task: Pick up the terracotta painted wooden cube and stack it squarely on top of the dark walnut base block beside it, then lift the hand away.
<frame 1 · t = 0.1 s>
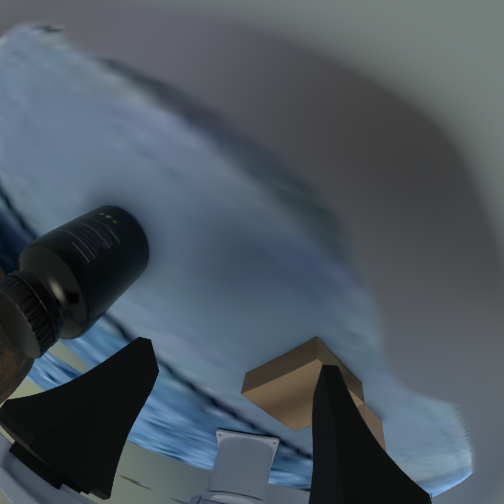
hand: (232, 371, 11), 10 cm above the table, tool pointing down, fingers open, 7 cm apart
walnut base: (305, 377, 24), on the table
terracotta cube: (353, 419, 26), on the table
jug: (12, 282, 27), on the table
supplement bottle: (117, 242, 21), on the table
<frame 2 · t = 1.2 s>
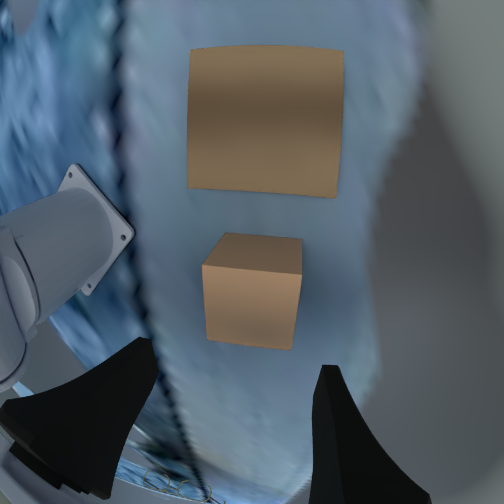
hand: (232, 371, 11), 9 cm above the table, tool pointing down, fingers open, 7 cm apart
walnut base: (268, 119, 15), on the table
terracotta cube: (261, 269, 19), on the table
eyeglasses: (187, 485, 45), on the table
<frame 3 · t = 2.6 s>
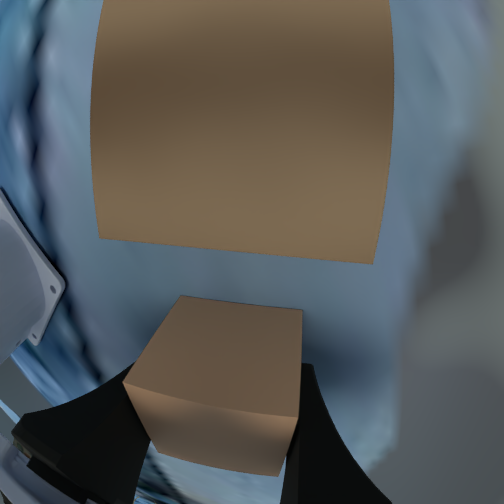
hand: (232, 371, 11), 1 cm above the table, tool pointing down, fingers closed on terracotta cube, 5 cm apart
walnut base: (245, 105, 8), on the table
terracotta cube: (239, 348, 12), on the table, touching gripper
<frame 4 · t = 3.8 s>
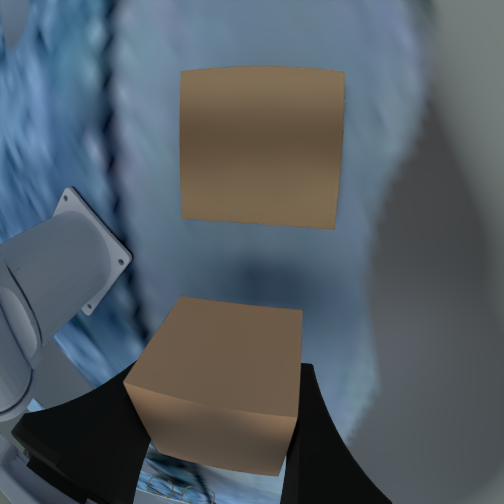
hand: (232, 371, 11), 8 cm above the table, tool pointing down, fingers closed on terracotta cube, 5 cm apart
walnut base: (264, 143, 15), on the table
terracotta cube: (239, 348, 12), point 7 cm above the table, touching gripper
eyeglasses: (190, 490, 45), on the table
when the fingers open (5 cm above the table, at t = 5.3 s): terracotta cube drops 1 cm, point 3 cm above the table.
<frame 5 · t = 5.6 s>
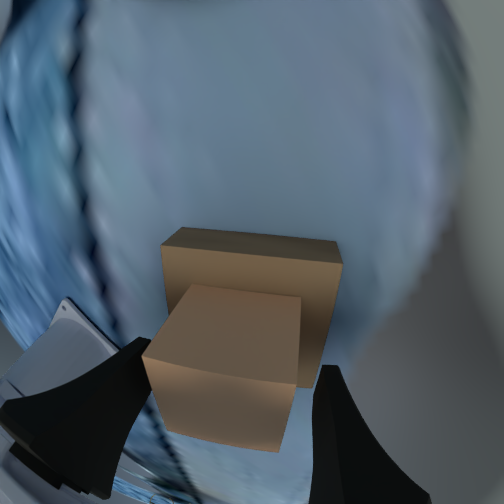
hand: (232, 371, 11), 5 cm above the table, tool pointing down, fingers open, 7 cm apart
walnut base: (254, 296, 16), on the table
terracotta cube: (243, 333, 13), point 3 cm above the table
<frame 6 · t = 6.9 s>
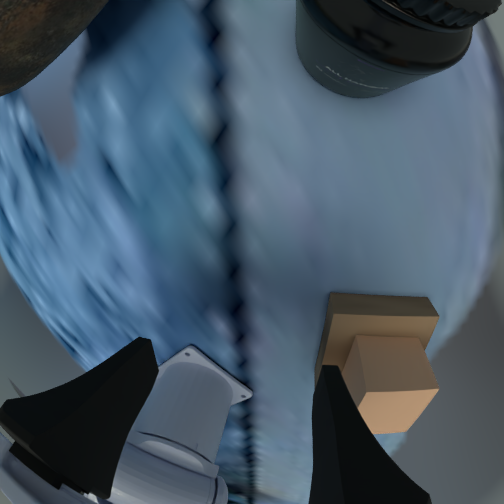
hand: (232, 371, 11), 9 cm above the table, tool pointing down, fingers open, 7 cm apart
walnut base: (369, 333, 21), on the table
terracotta cube: (377, 361, 18), point 3 cm above the table
supplement bottle: (351, 50, 13), on the table
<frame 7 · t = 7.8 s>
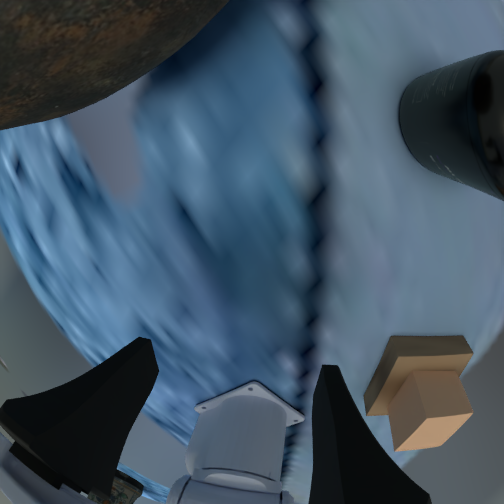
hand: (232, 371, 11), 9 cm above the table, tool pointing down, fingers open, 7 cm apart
walnut base: (412, 365, 21), on the table, touching terracotta cube
beer stein: (123, 476, 55), on the table
terracotta cube: (421, 389, 19), point 3 cm above the table, touching walnut base
supplement bottle: (440, 124, 13), on the table
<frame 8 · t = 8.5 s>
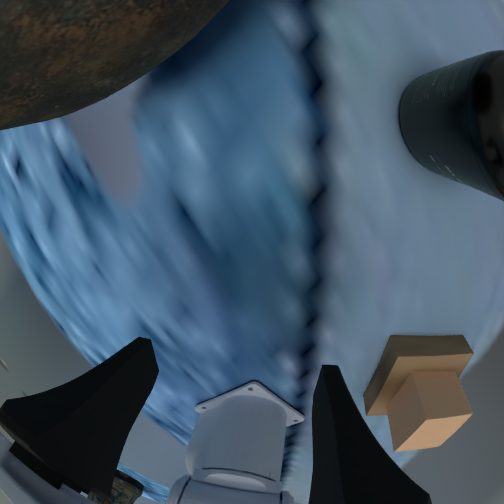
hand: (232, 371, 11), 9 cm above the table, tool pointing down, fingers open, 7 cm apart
walnut base: (412, 365, 21), on the table, touching terracotta cube
beer stein: (123, 476, 55), on the table
terracotta cube: (421, 390, 19), point 3 cm above the table, touching walnut base
supplement bottle: (440, 124, 13), on the table
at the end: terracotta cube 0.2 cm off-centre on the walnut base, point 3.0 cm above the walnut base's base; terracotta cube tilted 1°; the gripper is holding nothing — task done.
